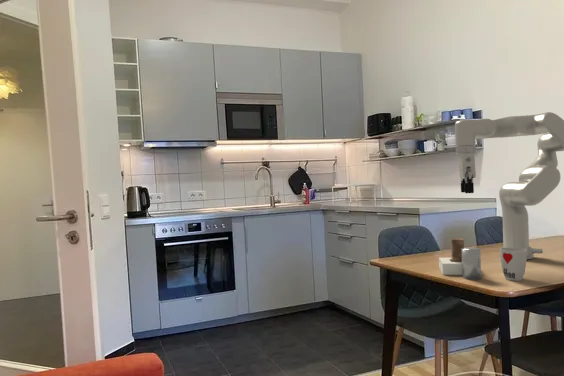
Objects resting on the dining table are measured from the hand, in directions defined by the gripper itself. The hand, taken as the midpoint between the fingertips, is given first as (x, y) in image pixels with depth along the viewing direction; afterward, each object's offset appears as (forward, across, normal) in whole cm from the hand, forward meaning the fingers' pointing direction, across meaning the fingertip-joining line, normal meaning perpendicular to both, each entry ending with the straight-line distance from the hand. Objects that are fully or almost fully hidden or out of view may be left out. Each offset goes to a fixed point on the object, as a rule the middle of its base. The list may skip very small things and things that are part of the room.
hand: (467, 192), depth 176 cm
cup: (+28, -30, -9) cm, 42 cm away
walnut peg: (+28, -19, +7) cm, 35 cm away
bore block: (+28, -19, +7) cm, 35 cm away
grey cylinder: (+28, -29, +4) cm, 41 cm away
